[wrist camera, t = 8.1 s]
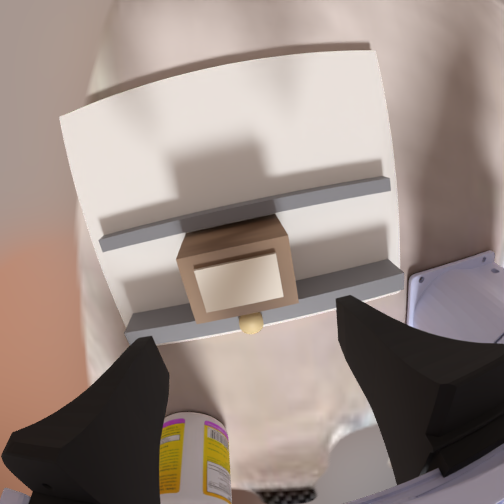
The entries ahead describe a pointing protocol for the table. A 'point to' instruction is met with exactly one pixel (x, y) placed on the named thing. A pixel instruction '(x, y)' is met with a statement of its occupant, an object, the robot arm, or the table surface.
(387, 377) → the robot arm
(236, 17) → the table surface
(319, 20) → the table surface
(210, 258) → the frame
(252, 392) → the table surface
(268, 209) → the wall board
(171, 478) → the supplement bottle
